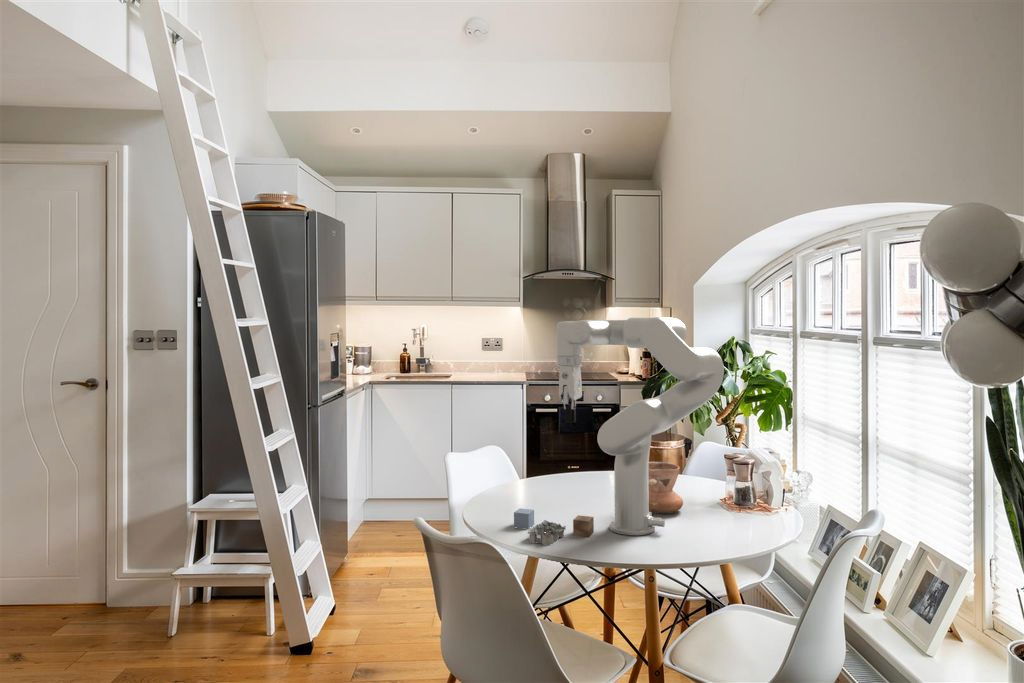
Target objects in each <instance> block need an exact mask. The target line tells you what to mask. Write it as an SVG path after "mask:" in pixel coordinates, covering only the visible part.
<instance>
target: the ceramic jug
mask: <svg viewBox="0 0 1024 683" xmlns="http://www.w3.org/2000/svg"><path fill="white" fill-rule="evenodd" d="M679 474H680V466H678V465H676V464H674V463H671V462H666V461H665V462H664V461H649V512H652V514H656V515H667V514H668V515H669V514H672V513H675V512H678V511H679V510H681V509H682V507H683V505H684V501H683V498H682V497H681V496H680V495H679V494H678V493H676V492H675V491H674V490H673V488H674V487H675V485H676V482H677V480H678V477H679Z"/></svg>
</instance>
